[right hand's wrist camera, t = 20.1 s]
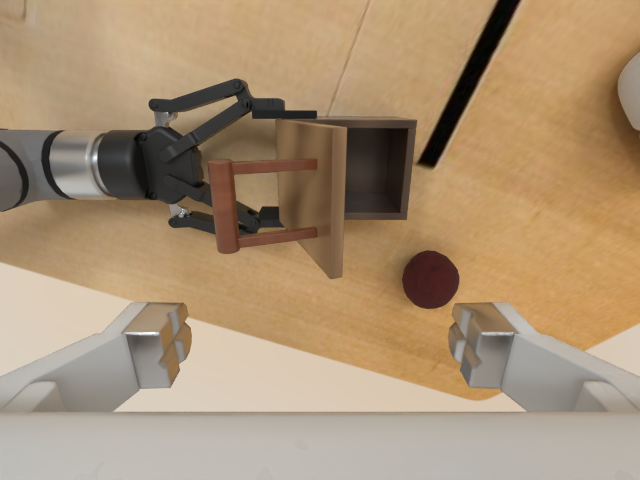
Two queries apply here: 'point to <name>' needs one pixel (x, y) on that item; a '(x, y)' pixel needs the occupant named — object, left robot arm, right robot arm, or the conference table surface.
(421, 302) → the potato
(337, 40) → the conference table surface
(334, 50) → the conference table surface
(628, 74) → the white rounded block
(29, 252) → the conference table surface
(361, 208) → the chest
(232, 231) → the lid
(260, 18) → the conference table surface
